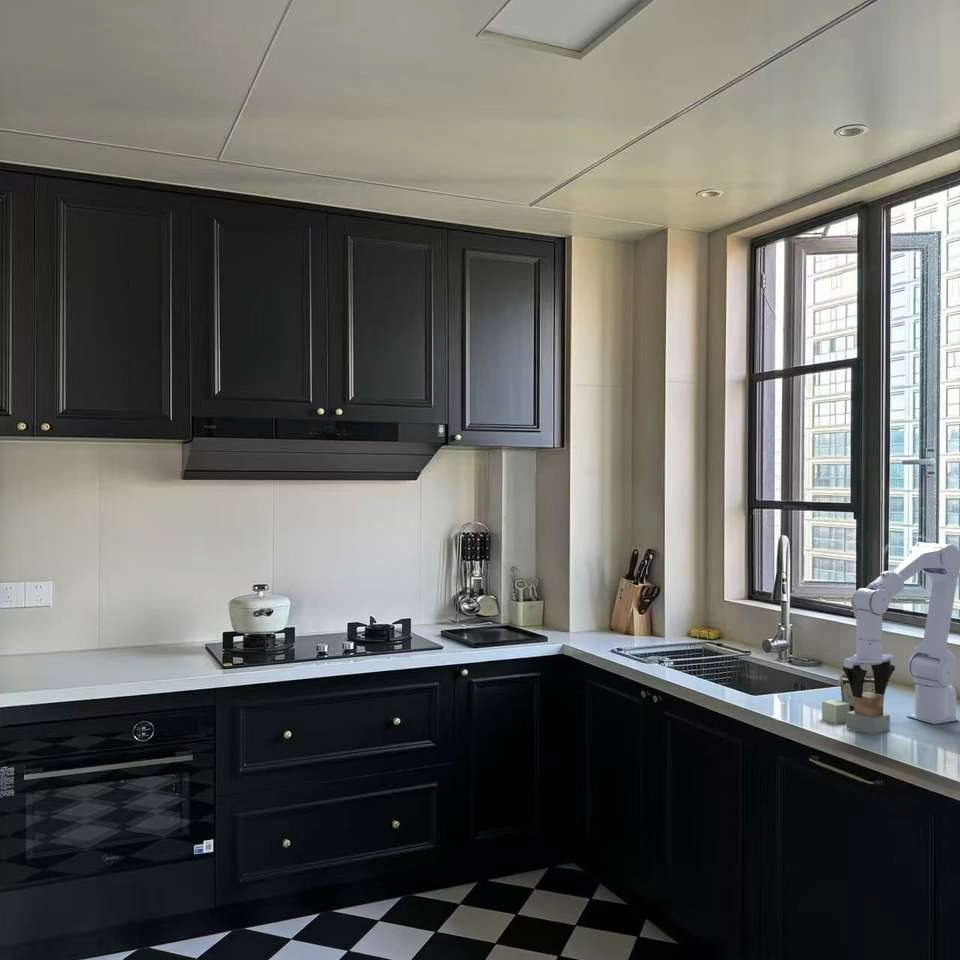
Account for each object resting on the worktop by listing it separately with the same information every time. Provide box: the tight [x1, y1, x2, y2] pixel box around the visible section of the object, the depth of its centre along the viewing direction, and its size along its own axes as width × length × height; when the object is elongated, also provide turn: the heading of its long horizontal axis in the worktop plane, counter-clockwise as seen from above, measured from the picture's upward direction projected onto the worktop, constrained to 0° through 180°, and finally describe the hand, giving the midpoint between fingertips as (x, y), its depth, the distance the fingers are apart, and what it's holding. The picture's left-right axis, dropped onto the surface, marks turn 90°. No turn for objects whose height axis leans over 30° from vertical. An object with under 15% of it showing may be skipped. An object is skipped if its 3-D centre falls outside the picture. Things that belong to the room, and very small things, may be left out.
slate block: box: [846, 711, 891, 736], centre depth 218 cm, size 7×7×4 cm
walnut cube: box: [854, 692, 884, 717], centre depth 218 cm, size 4×4×4 cm
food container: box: [837, 673, 889, 712], centre depth 232 cm, size 12×6×10 cm, turn 92°
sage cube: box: [821, 699, 850, 724], centre depth 226 cm, size 4×4×4 cm
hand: (868, 695), depth 218 cm, fingers open, 7 cm apart
